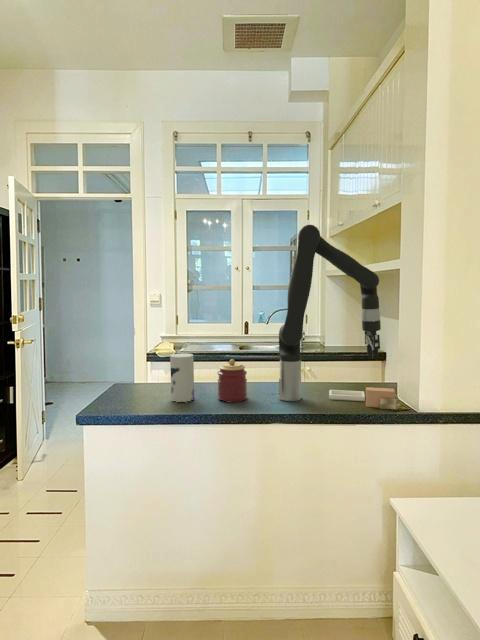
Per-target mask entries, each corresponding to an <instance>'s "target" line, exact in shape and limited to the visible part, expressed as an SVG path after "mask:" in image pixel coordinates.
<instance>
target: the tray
mask: <svg viewBox="0 0 480 640" xmlns="http://www.w3.org/2000/svg"><path fill="white" fill-rule="evenodd" d="M328 391H329V392H328V400H334V401H335V400H336V401H351V402H352V401H353V402H354V401H355V402H366V393H365V391H362V390H361V391H360V390H344V389H342V390H339V389H329V390H328Z"/></svg>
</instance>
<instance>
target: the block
mask: <svg viewBox="0 0 480 640" xmlns="http://www.w3.org/2000/svg"><path fill="white" fill-rule="evenodd" d="M395 394H396V391H395V388H387V387H365V407H366V408H379V409H380V398H387V399H395Z"/></svg>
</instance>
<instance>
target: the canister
mask: <svg viewBox="0 0 480 640" xmlns="http://www.w3.org/2000/svg"><path fill="white" fill-rule="evenodd" d="M245 368H246V367H245V366H244V365H243V364H242V363H239V362H236V361H235V359H233V358H232V359H230V360H229V362H226V363H222V364H221V365H220V366H219V371H217V375H218V379H217V397H218V398H219V399H220V400H223V401H231V402H230V403H239V402H238V401H241V402H243V400H244V401H246V400H247V399H246V398H248V391H247V389H248V385H247V381H248V379H247V374H248V372H247V371H246V370H245ZM218 398H217V399H218ZM219 399H218V400H219ZM245 399H246V400H245ZM220 400H219V401H220ZM223 401H222V402H223Z"/></svg>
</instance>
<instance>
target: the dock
mask: <svg viewBox="0 0 480 640" xmlns="http://www.w3.org/2000/svg"><path fill="white" fill-rule="evenodd" d="M399 403H400V399H399V397H398V395H397V394H396V393H395V399H387V398H380V408H379V409H380V410H381V409H384V410H398V409H399V410H400V407H399V405H400V404H399Z"/></svg>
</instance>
